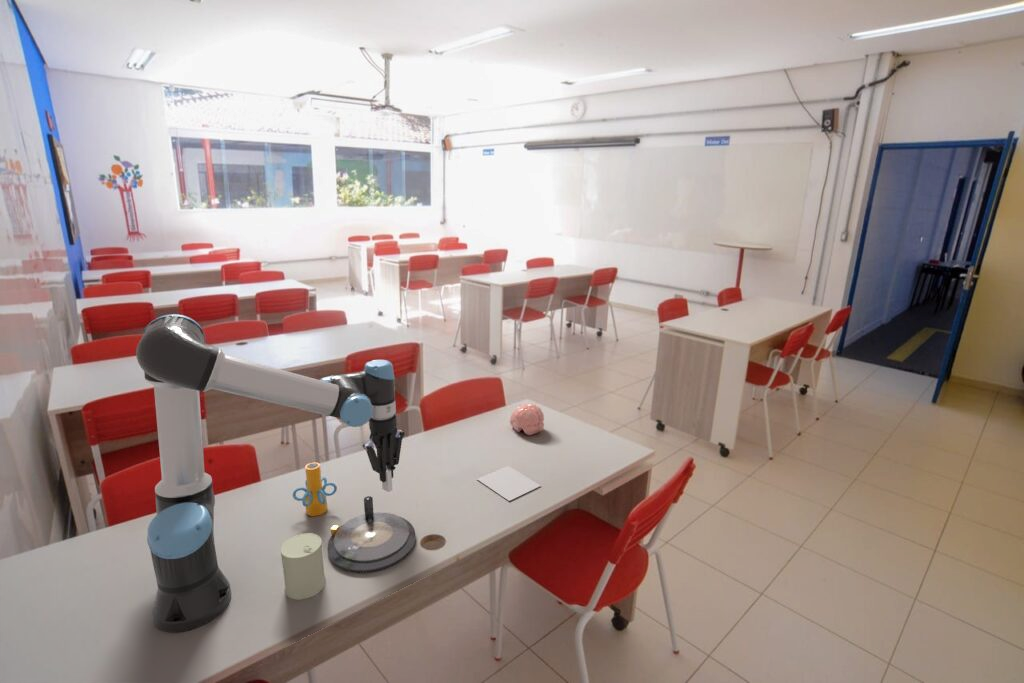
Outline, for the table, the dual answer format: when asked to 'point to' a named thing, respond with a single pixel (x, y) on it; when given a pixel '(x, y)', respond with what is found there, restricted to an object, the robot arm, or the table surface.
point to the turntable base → (373, 566)
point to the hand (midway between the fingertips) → (387, 489)
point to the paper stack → (508, 483)
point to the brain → (527, 419)
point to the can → (303, 566)
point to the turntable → (371, 536)
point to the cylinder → (314, 491)
